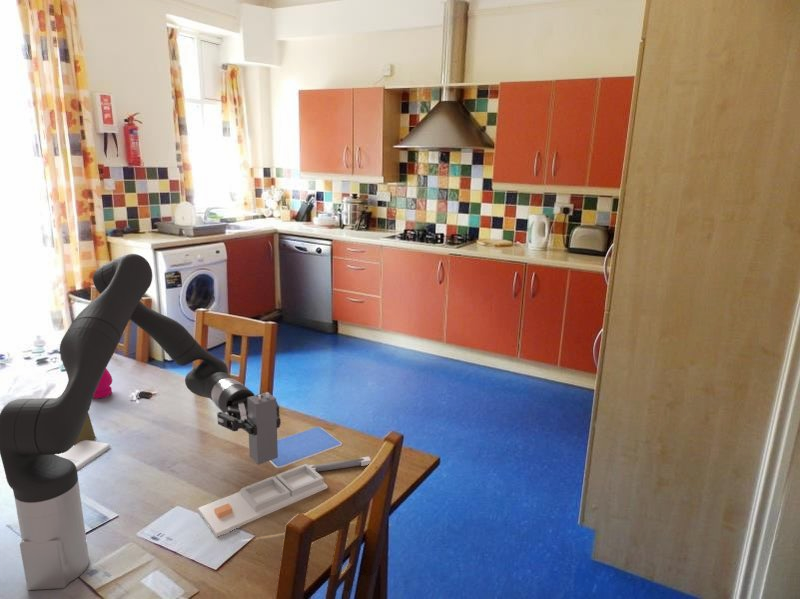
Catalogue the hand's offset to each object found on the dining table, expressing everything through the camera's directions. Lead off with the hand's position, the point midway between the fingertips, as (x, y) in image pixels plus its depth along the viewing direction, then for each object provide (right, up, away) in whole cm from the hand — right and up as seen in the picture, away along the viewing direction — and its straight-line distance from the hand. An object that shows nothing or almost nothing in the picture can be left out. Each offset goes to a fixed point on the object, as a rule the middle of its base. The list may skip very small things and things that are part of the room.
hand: (267, 427), depth 110 cm
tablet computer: (+2, -13, +28) cm, 31 cm away
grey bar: (+13, -15, +18) cm, 27 cm away
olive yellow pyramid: (-56, -10, +28) cm, 63 cm away
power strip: (-2, -18, +6) cm, 19 cm away
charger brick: (-2, -7, +3) cm, 8 cm away
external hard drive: (-52, -13, +20) cm, 57 cm away
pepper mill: (-66, -3, +54) cm, 85 cm away
